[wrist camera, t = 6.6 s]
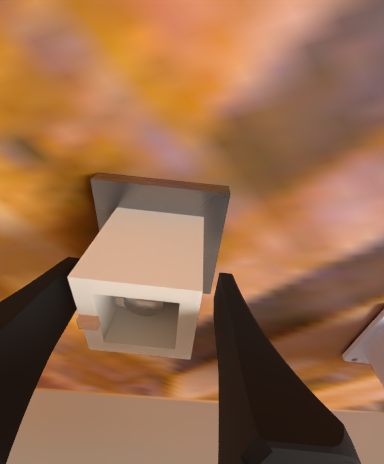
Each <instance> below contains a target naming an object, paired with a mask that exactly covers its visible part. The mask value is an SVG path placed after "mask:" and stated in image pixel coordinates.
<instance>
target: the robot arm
mask: <svg viewBox="0 0 384 464" xmlns="http://www.w3.org/2000/svg"><path fill="white" fill-rule="evenodd" d="M79 260H80V258H72V257H68V258H66V259H64V260H63V261H61V262H60V263H59V264H57V265H56V266H54V267H53V268H51V269H50V270H49V271H47V272H46V273H44V274H43V275H41V276H40V277H38V278H37V279H35V280H34V281H32V282H31V283H29V284H28V285H26V286H25V287H23V288H22V289H20V290H19V291H17V292H15V293H14V294H12V295H11V296H9V297H7V298H6V299H4V300H3V301H1V302H0V464H6V462H7V459H8V456H9V453H10V451H11V448H12V445H13V442H14V440H15V437H16V435H17V432H18V429H19V426H20V424H21V421H22V419H23V416H24V414H25V411H26V409H27V406H28V404H29V402H30V399H31V396H32V394H33V392H34V390H35V388H36V385H37V383H38V381H39V378H40V376H41V374H42V372H43V370H44V368H45V365H46V363H47V361H48V359H49V357H50V355H51V353H52V351H53V349H54V347H55V345H56V344H57V342H58V340H59V339H60V337H61V335H62V333H63V332H64V330H65V328H66V327H67V325H68V323H69V321H70V320H71V318H72V316H73V315H74V313H75V311H76V309H77V307H76V304H75V301H74V298H73V294H72V291H71V288H70V284H69V281H68V278H67V277H68V275H69V274H70V272H71V271H72V270H73V268H74V267H75V265H76V264H77V263H78V261H79ZM214 327H215V337H216V347H217V358H218V371H219V454H218V455H219V456H218V458H219V459H218V464H361V462H360V460H359V458H358V455H357V453H356V450H355V448H354V445H353V443H352V441H351V439H350V437H349V435H348V433H347V431H346V429H345V427H344V425H343V423H342V422H341V421H340V420H339V419H338V418H337V417H336V416H334V414H332V412H331V411H330V410H329V409H328V408H327V407H326V406H325V405H324V404H323V403H322V402H321V401H320V400H319V399H318V398H317V397H316V396H315V395H314V394H313V393H312V392H311V391H310V390H309V389H308V387H307V386H306V385H305V384H304V383H303V382H302V381H301V380H300V378H299V377H298V376H297V375H296V374H295V373H294V371H293V370H292V369H291V368H290V367H289V365H288V364H287V363H286V362H285V361H284V359H283V358H282V357H281V356H280V354H279V353H278V352H277V350H276V349H275V348H274V346H273V345H272V344H271V342H270V341H269V339H268V338H267V337H266V335H265V334H264V332H263V331H262V329H261V328H260V326H259V324H258V323H257V321H256V320H255V318H254V316H253V315H252V313H251V311H250V309H249V308H248V306H247V304H246V302H245V300H244V298H243V296H242V294H241V292H240V290H239V288H238V286H237V284H236V282H235V279H234V277H233V275H232V274H228V273H219V278H218V282H217V287H216V291H215V296H214ZM342 358H343V360H344V361H347V362H356V363H366V364H370V365H371V366H372V368H373V370H374V372H375V373H376V375H377V377H378V378H379V380H380V382H381V384H382V385H383V387H384V309H383V310H382V311H381V312H380V314H379V315H378V316H377V317H376V318H375V319H374V320H373V321H372V322H371V324H370V325H369V326H368V327H367V328H366V329H365V330H364V331H363V332H362V334H361V335H360V336H359V337H358V338H357V339H356V340H355V341H354V342H353V344H352V345H351V346H350V347H349V348H348V349H347V350H346V351H345V352H344V353H343V355H342Z"/></svg>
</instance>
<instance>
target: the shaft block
mask: <svg viewBox="0 0 384 464" xmlns="http://www.w3.org/2000/svg"><path fill="white" fill-rule="evenodd" d="M90 180H91V186H92V192H93V197H94V203H95V209H96V215H97V221H98V227H99V232H100V230H101V229H102V228H103V226H104V225H105V223H106V222H107V221H108V219H109V218H110V216H111V215H112V214H113V212H114V211H115V209H116V208H117V207H118V208H127V209H137V210H146V211H155V212H164V213H173V214H182V215H191V216H200V217H204V241H203V293H205V294H210V292H211V287H212V282H213V277H214V272H215V267H216V262H217V257H218V253H219V248H220V243H221V238H222V233H223V228H224V223H225V218H226V213H227V208H228V203H229V198H230V190H229V187H228V186H219V185H209V184H200V183H190V182H181V181H171V180H162V179H152V178H143V177H133V176H124V175H115V174H105V173H97V174H96V175H95V176H93V177H92V178H91V179H90ZM115 302H116V306H124V307H125V306H126V308H127V309H128V310H129V311H131V312H132V313H134V314H136V315H140V316H153V315H156V314H158V313H159V312H160V311H161V310H162V307H163V302H164V301H155V300H145V299H136V298H126V297H117V296H115Z"/></svg>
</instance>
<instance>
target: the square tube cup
mask: <svg viewBox="0 0 384 464" xmlns="http://www.w3.org/2000/svg"><path fill="white" fill-rule="evenodd" d="M203 241H204V217H200V216H191V215H182V214H173V213H164V212H155V211H146V210H137V209H127V208H118V207H117V208H116V209H115V211H114V212H113V214H112V215H111V216H110V218H109V219H108V221H107V222H106V223H105V225H104V226H103V228H102V229H101V230H100V232H99V233H98V235H97V236H96V237H95V239H94V240H93V242H92V243H91V244H90V246H89V247H88V249H87V250H86V251H85V253H84V254H83V256H82V257H81V258H80V260H79V261H78V263H77V264H76V265H75V267H74V268H73V270H72V271H71V272H70V274H69V275H68V277H67V278H68V281H69V284H70V288H71V291H72V294H73V298H74V301H75V304H76V307H77V311H78V314H79V316H78V318H77V320H76V321H77V324H78V327H79V329H83V331H84V334H85V337H86V340H87V344H88V347H89V349H91V350H101V351H111V352H120V353H130V354H140V355H149V356H159V357H169V358H179V359H188V360H190V358H191V353H192V347H193V342H194V337H195V331H196V326H197V320H198V315H199V309H200V304H201V298H202V293H203ZM115 296H117V297H126V298H136V299H145V300H155V301H164V302H163V307H162V310H161V311H160V312H159V313H158V314H156V315H153V316H140V315H136V314H134V313H132V312H131V311H129V310H128V309H127V308H126V306H125V307H124V306H116V302H115Z"/></svg>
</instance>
